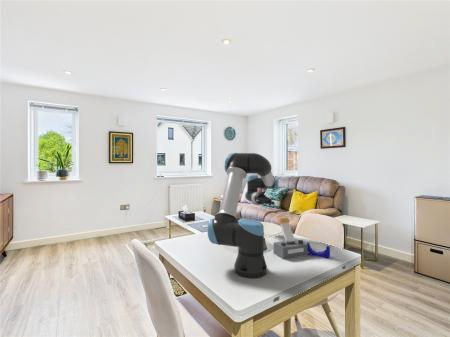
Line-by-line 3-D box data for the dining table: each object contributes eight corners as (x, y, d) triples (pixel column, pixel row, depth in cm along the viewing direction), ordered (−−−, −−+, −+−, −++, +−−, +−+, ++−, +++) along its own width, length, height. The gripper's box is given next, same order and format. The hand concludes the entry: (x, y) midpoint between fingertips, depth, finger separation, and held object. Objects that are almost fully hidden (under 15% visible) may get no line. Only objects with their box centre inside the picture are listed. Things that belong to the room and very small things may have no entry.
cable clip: (329, 256, 131) (330, 245, 131) (329, 259, 127) (329, 247, 127) (307, 252, 137) (307, 241, 137) (305, 254, 133) (305, 243, 133)
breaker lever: (288, 242, 131) (279, 218, 138) (285, 244, 133) (277, 220, 140) (296, 241, 133) (288, 217, 140) (293, 243, 135) (285, 219, 142)
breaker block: (283, 259, 126) (283, 245, 125) (273, 253, 134) (273, 239, 134) (308, 255, 131) (308, 241, 131) (296, 249, 140) (297, 236, 140)
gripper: (267, 203, 168) (287, 209, 147) (250, 204, 164) (268, 210, 142) (267, 192, 168) (287, 197, 146) (250, 193, 164) (269, 198, 142)
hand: (278, 203), depth 144 cm, fingers closed
